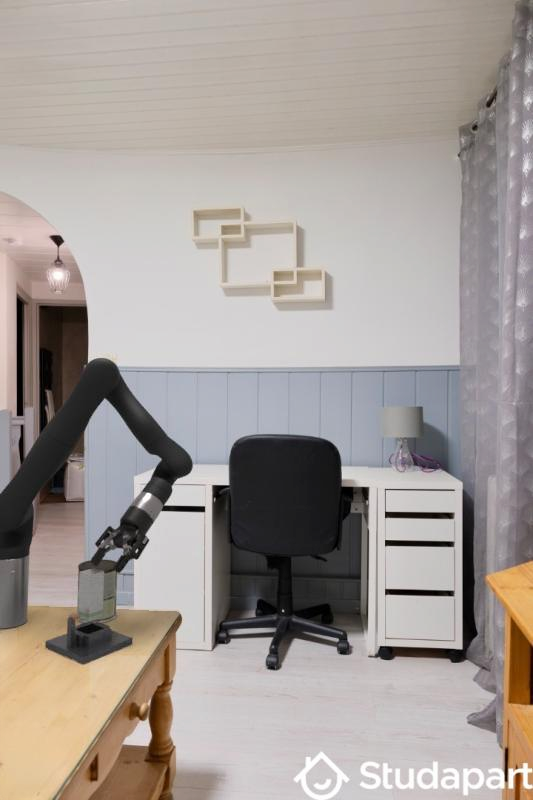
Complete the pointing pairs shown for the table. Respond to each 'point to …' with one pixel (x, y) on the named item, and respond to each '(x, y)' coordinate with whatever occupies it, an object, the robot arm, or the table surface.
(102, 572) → the steel column
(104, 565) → the coffee can
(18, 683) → the table surface
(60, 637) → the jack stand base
